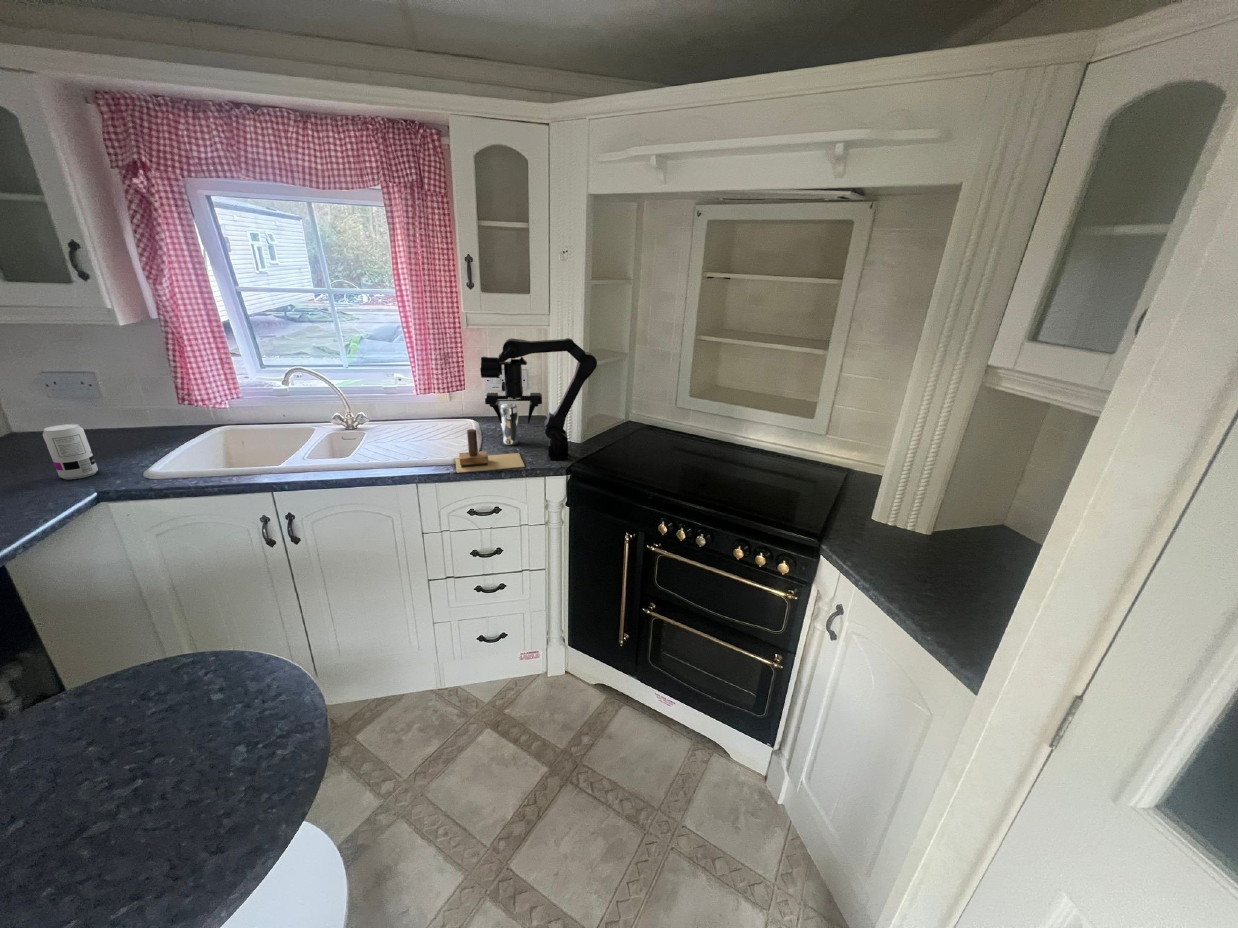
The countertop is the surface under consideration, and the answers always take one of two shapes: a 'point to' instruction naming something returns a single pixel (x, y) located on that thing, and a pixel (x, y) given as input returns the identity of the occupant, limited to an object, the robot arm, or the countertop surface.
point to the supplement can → (70, 451)
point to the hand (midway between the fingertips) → (515, 422)
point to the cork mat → (494, 463)
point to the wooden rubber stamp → (473, 452)
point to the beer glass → (509, 423)
